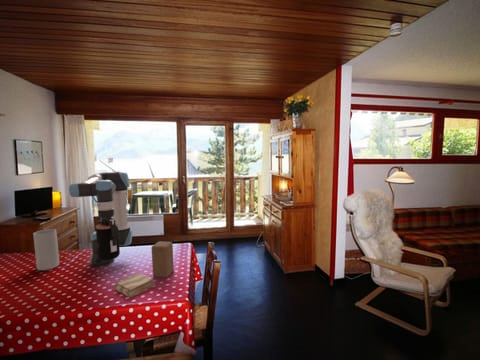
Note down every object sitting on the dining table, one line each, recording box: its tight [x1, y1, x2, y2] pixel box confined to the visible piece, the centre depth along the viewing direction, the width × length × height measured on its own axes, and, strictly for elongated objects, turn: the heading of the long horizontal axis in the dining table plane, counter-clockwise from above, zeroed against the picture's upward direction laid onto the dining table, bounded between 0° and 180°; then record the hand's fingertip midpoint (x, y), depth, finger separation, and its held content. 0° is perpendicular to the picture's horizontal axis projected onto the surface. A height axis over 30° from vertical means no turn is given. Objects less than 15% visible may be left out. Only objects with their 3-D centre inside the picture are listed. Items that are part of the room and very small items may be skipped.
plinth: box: [115, 272, 155, 298], centre depth 146 cm, size 15×15×4 cm
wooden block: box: [151, 240, 175, 279], centre depth 161 cm, size 10×10×20 cm
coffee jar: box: [95, 222, 121, 260], centre depth 136 cm, size 11×11×18 cm
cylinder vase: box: [32, 228, 60, 271], centre depth 174 cm, size 12×12×25 cm
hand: (108, 248), depth 137 cm, fingers closed on coffee jar, 11 cm apart
